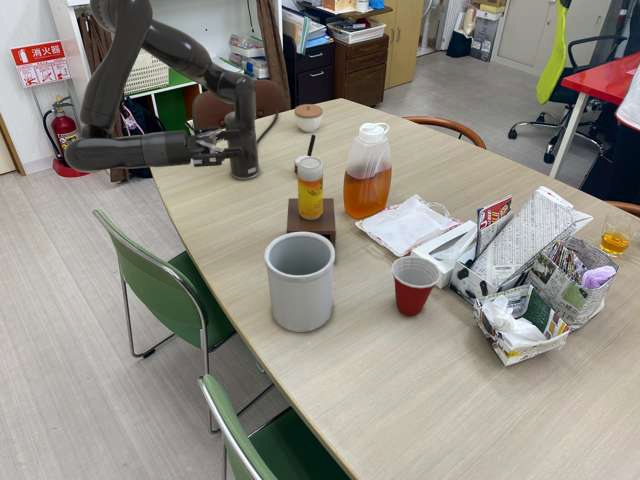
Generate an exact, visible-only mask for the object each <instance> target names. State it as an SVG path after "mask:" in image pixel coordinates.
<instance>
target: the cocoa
mask: <svg viewBox="0 0 640 480" xmlns="http://www.w3.org/2000/svg"><path fill="white" fill-rule="evenodd" d="M316 137H317V135H316V134H311V137H310V141H309V145H308V150H307V153H306V155H300V156H298V157H296V158H294V174H296V175H297V176H298V169H297V166H298V164H299V161H300V160H301V159H303V158H305V157H312V153H313V149H314V145H315V141H316Z"/></svg>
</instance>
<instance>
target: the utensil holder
mask: <svg viewBox="0 0 640 480" xmlns="http://www.w3.org/2000/svg"><path fill="white" fill-rule="evenodd" d="M263 258H264V263H265V267H266V271H267V273H266V274H267V279H268V281H267V282H268V289H269V290H268V291H269V297H270V305H271V309H272V314H273V317H274V319H275V321H276V322H277V324H279V326H281V327H282V328H284V329H286V330H289V331H291V332H295V333H296V332H297V333H305V332H312V331H314V330H317V329H319V328H321V327H322V326H323V325H325V324H326V323H327V321H328V320H329V319H330V317H331V314H332V309H333V308H332V306H333V296H334V295H333V292H334V291H333V290H334V288H333V286H334V266H335V259H336V249H335V250H334V247H333V245H332V244H331V242H330V241H329V240H327V239H326V238H325V237H323V236H321V235H319V234H315V233H311V232H293V233H289V234H287V233H285V234H282V235H280V236H278V237H276V238H275V239H273V240H272V241H271V242H270V243H269V244H268V245H267V246H266V248H265V250H264V254H263Z"/></svg>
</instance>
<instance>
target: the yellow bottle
mask: <svg viewBox="0 0 640 480" xmlns="http://www.w3.org/2000/svg"><path fill="white" fill-rule="evenodd" d="M297 169H298V175H297V197H298V204H299V214H300V215H301V216H302V217H303V218H305V219H308V220H314V219H317V218H318V217H319V216H320V215H321V214H322V212H323V197H324V165H323V163H322V160H321V159H320V158H318V157H316V156H315V157H314V156H311V157H305V158H303V159H301V160H300V161H299V164H298V166H297Z"/></svg>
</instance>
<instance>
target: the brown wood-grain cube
mask: <svg viewBox="0 0 640 480" xmlns="http://www.w3.org/2000/svg"><path fill="white" fill-rule="evenodd" d="M334 201H335V200H334V198H333V197H331V198H330V197H329V198H327V197H326V198H325V197H324V198H323V212H322V214H321V215H320V216H319V217H318V218H317V219H314V220H308V219H305V218H303V217H302V216H301V215H300V214H299V204H298V198H297V197H295V198H293V197H291V198H288V201H287V202H288V203H287V218H286V234H289V233H293V232H311V233H315V234H319V235H321V236H323V237H325V238H326V239H327V240H329V241H330V242H331V244H332V245H333V247H334V250H335V251H336V233H337V232H336V217H335V216H336V215H335V202H334Z"/></svg>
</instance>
